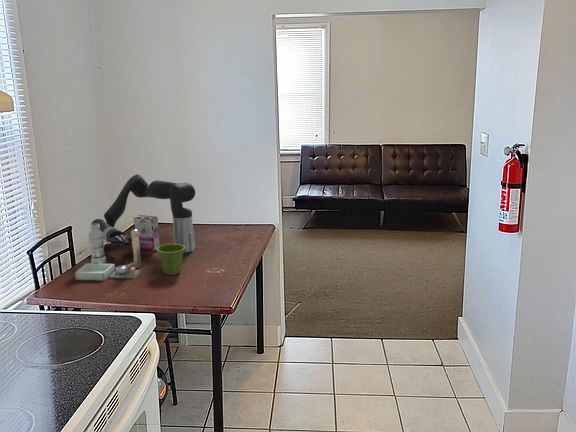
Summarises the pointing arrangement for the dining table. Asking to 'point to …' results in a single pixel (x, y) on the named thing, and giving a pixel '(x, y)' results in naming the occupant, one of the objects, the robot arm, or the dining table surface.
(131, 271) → the stop block
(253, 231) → the dining table surface
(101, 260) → the plastic bottle
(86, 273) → the tray
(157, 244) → the candy bar box
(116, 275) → the base
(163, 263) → the plant pot
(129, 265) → the beige silver l-shaped piece
